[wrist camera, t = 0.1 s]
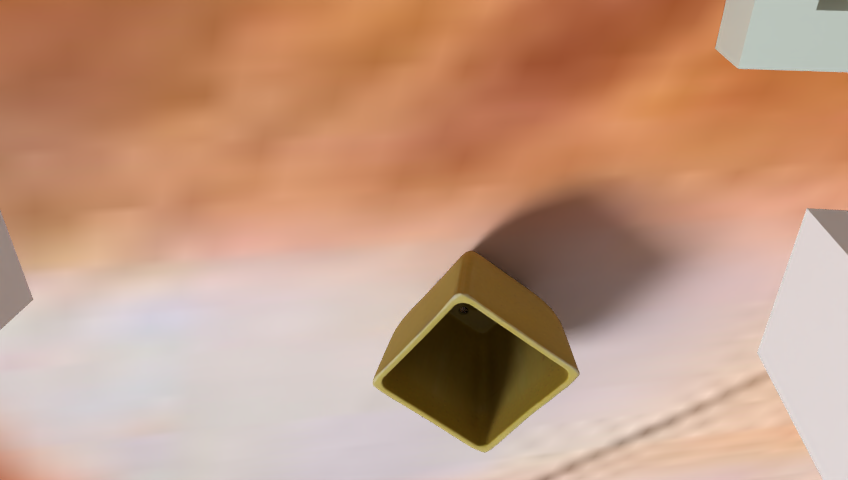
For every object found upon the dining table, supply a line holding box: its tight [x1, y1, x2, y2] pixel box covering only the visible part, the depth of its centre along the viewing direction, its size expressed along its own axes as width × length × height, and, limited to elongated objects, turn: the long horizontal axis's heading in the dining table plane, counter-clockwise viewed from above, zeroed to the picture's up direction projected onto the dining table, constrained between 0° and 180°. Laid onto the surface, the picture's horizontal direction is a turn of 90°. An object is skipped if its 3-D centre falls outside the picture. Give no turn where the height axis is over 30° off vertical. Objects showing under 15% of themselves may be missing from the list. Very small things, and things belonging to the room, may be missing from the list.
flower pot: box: [373, 251, 579, 452], centre depth 41 cm, size 9×9×9 cm
